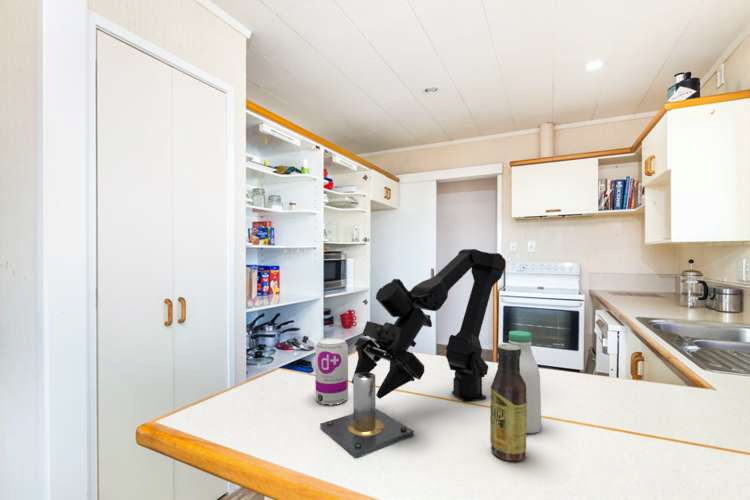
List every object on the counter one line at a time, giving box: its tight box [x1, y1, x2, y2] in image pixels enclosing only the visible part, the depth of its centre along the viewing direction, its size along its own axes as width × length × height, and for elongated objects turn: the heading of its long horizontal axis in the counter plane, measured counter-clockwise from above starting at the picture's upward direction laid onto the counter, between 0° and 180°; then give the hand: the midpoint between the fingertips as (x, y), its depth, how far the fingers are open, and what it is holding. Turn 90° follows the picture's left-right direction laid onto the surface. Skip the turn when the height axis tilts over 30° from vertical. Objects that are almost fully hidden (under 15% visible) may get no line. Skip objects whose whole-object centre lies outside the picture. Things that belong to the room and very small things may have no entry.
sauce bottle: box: [489, 343, 527, 462], centre depth 66 cm, size 6×6×20 cm
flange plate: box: [319, 408, 415, 459], centre depth 74 cm, size 14×14×1 cm
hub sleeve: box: [352, 372, 377, 432], centre depth 74 cm, size 5×5×11 cm
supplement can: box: [315, 337, 349, 405], centre depth 91 cm, size 8×8×15 cm
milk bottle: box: [508, 330, 542, 434], centre depth 76 cm, size 8×8×20 cm
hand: (364, 390), depth 74 cm, fingers open, 9 cm apart
